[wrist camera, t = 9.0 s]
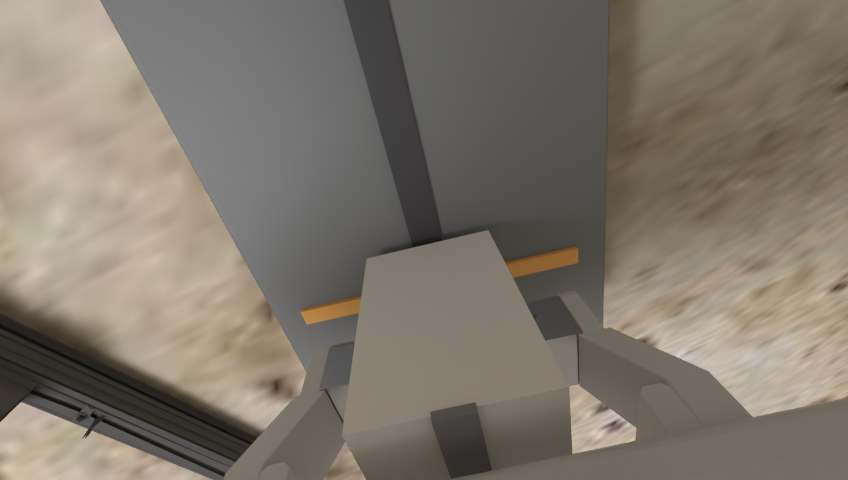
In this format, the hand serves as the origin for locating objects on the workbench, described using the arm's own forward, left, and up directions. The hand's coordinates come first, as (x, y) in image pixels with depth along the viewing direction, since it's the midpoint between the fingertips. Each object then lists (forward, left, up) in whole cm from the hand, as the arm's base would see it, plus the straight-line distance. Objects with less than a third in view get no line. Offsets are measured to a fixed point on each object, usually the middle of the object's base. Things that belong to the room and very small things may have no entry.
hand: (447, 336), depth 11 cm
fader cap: (0, 0, -2) cm, 2 cm away
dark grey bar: (+4, -16, -6) cm, 17 cm away
